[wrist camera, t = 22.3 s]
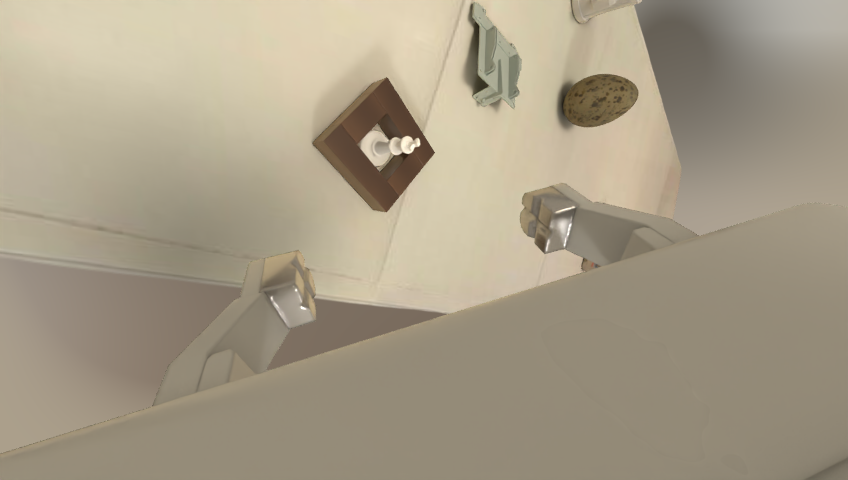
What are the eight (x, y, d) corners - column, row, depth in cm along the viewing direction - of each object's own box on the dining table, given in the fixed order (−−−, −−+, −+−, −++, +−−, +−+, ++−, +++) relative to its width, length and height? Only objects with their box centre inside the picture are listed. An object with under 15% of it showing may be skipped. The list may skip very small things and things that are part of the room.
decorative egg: (549, 103, 68) (624, 89, 57) (567, 71, 71) (643, 52, 60) (562, 139, 75) (632, 133, 64) (579, 108, 78) (649, 98, 66)
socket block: (373, 210, 44) (386, 212, 41) (311, 143, 36) (323, 140, 34) (420, 153, 47) (435, 152, 45) (372, 83, 40) (387, 76, 38)
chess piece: (350, 146, 40) (393, 140, 32) (373, 122, 41) (419, 111, 34) (373, 174, 43) (417, 175, 35) (394, 151, 44) (440, 147, 37)
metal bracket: (529, 114, 54) (480, 64, 44) (501, 126, 58) (450, 83, 48) (529, 48, 57) (483, -13, 47) (502, 64, 61) (454, 11, 51)
